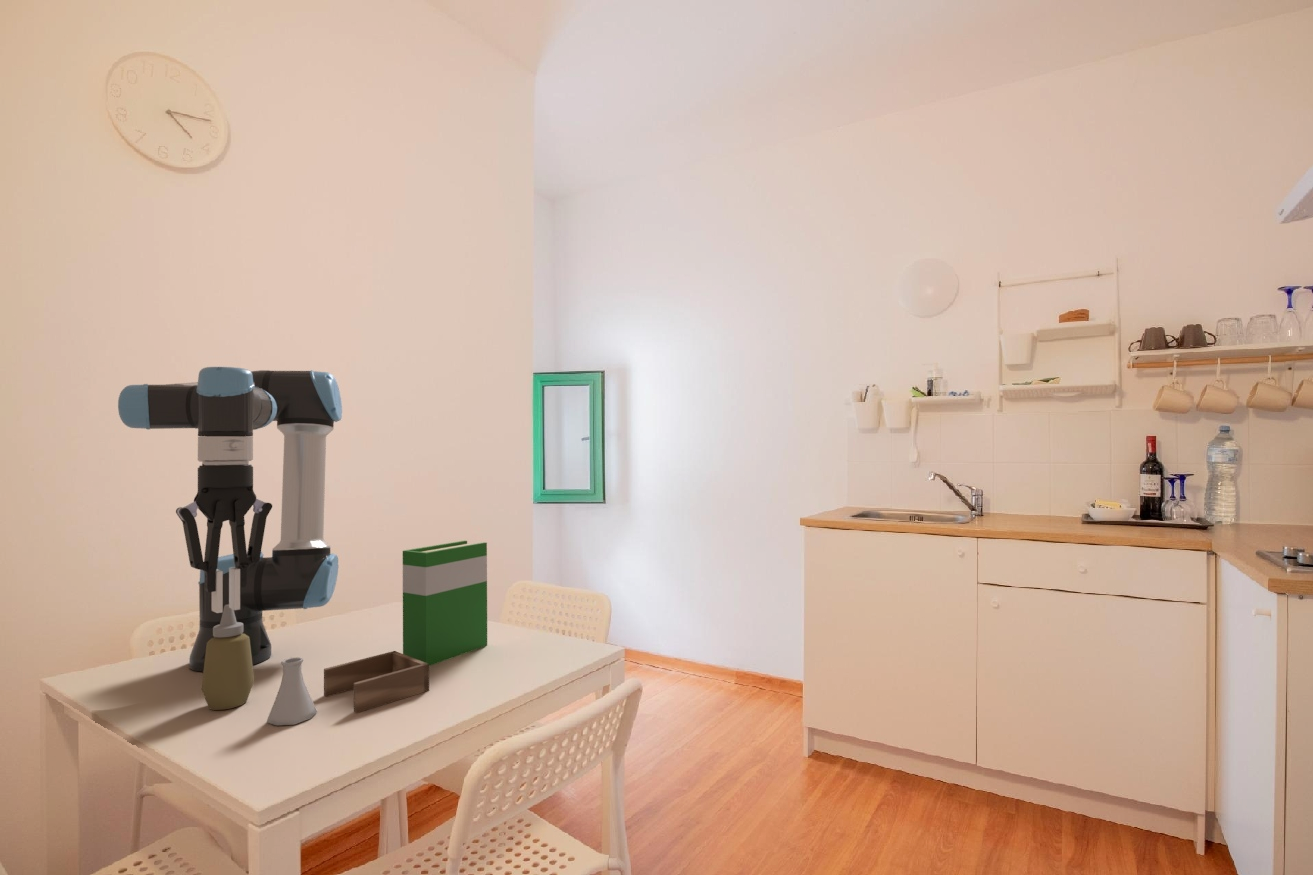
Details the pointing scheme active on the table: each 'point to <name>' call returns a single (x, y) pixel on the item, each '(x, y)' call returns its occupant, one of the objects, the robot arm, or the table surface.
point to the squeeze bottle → (227, 665)
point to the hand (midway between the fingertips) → (225, 609)
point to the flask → (292, 696)
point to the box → (378, 679)
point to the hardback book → (444, 600)
